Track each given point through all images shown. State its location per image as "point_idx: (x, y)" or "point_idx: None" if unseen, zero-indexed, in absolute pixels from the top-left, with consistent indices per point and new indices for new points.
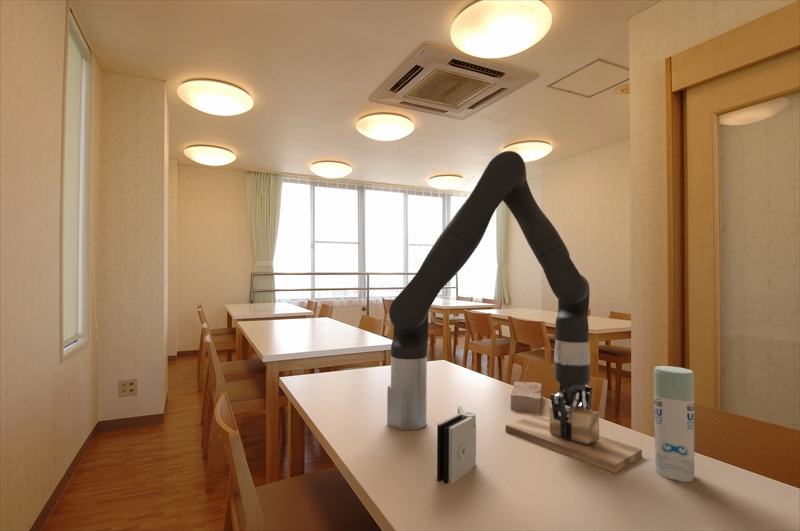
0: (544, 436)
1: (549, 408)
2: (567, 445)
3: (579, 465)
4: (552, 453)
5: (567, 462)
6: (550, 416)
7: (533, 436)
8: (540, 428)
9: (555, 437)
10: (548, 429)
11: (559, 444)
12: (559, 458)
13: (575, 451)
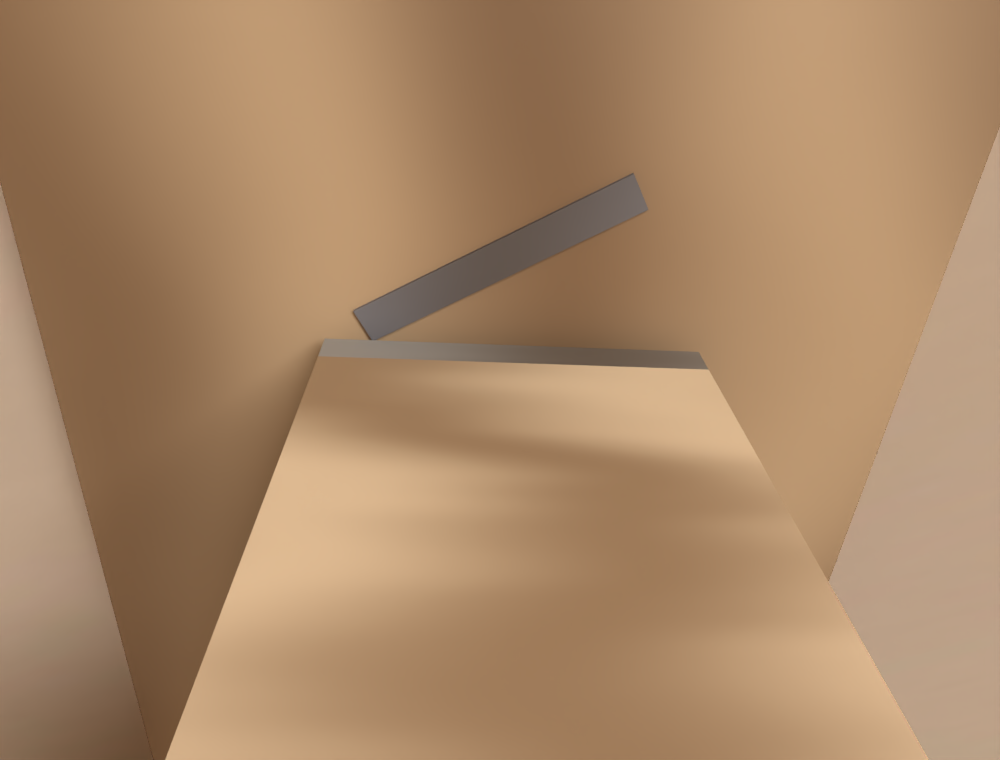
0: (154, 330)
1: (193, 697)
2: (184, 637)
3: (70, 727)
4: (28, 494)
5: (10, 658)
6: (252, 550)
7: (14, 179)
8: (420, 79)
9: (275, 448)
10: (498, 212)
11: (115, 578)
12: (2, 586)
13: (145, 719)
